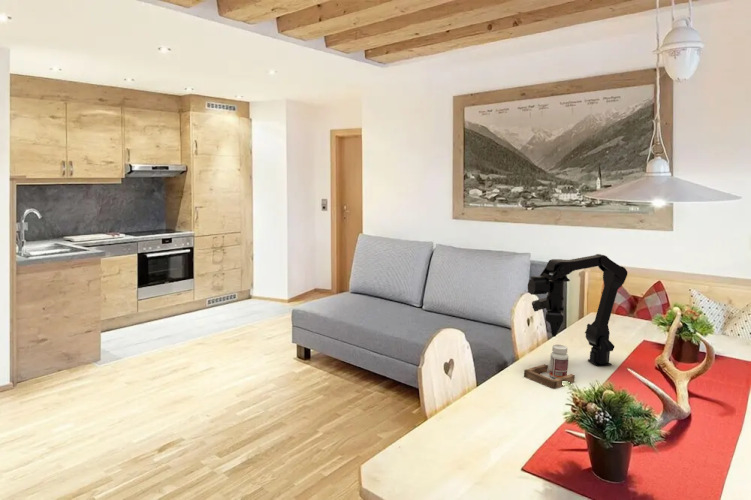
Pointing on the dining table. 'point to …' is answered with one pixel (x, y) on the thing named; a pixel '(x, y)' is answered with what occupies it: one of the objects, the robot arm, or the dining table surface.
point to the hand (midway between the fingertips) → (554, 332)
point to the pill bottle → (558, 361)
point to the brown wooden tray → (535, 376)
